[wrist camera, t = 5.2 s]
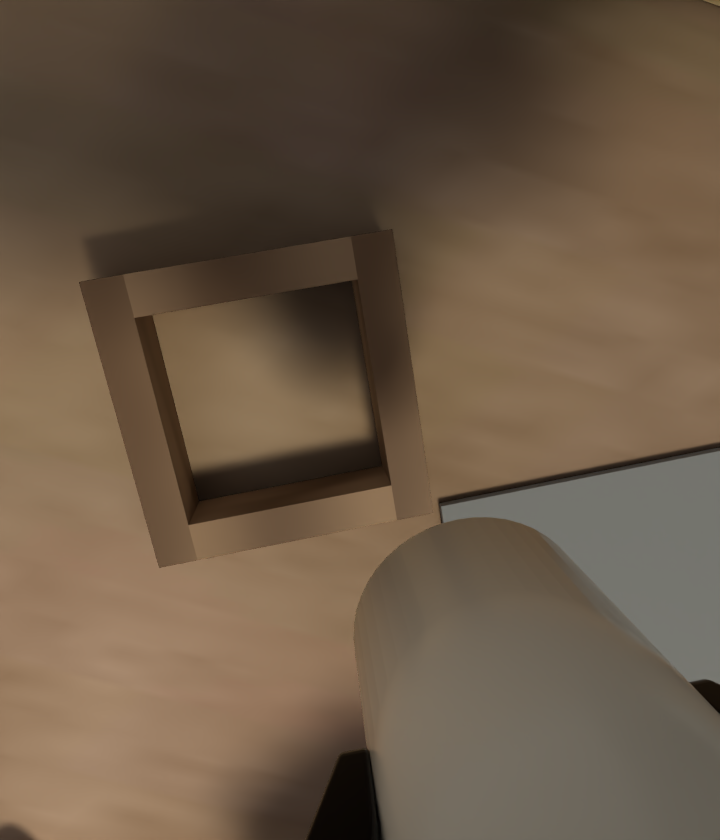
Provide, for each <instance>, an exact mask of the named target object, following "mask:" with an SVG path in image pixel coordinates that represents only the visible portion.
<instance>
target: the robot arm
mask: <svg viewBox="0 0 720 840" xmlns="http://www.w3.org/2000/svg"><path fill="white" fill-rule="evenodd" d="M689 683H690V684H691V685H692V686H693V687H694V688H695V689H696V690H697V691H698V692H699V693H700V694H701V695H702V696H703V697H704V698H705V699H706V700H707V701H708V702H709V704H710V705H711V706H712V707H713V708H714V709H715V710H716V711H717V712H718V713H719V714H720V684H718V683H716V682H714V681H711V680H708V679H702V680H697V681H692V682H689ZM305 840H380V832H379V824H378V816H377V808H376V800H375V792H374V785H373V777H372V769H371V761H370V754H369V751H368V749H366V748H362V749H357V750H352V751H347V752H343V753H341V754H340V755H339V756H338V758H337V761H336V763H335V766H334V768H333V771H332V773H331V776H330V779H329V781H328V784H327V786H326V789H325V791H324V794H323V796H322V799H321V801H320V804H319V806H318V809H317V811H316V814H315V817H314V819H313V822H312V824H311V827H310V829H309V832H308V834H307V837H306V839H305Z"/></svg>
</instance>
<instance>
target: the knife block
mask: <svg viewBox="0 0 720 840" xmlns="http://www.w3.org/2000/svg"><path fill="white" fill-rule="evenodd" d="M704 1H706V2H709V3H712V4H715V5H717V6H720V0H704Z"/></svg>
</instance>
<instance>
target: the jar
mask: <svg viewBox="0 0 720 840" xmlns="http://www.w3.org/2000/svg"><path fill="white" fill-rule="evenodd" d="M353 638H354V647H355V656H356V664H357V672H358V680H359V688H360V696H361V704H362V712H363V721H364V729H365V737H366V745H367V749H368V751H369V754H370V761H371V769H372V777H373V785H374V792H375V800H376V808H377V816H378V824H379V832H380V840H720V714H719V713H718V712H717V711H716V710H715V709H714V708H713V707H712V706H711V705H710V704H709V702H708V701H707V700H706V699H705V698H704V697H703V696H702V695H701V694H700V693H699V692H698V691H697V690H696V689H695V688H694V687H693V686H692V685H691V684H690V683H689V682H688V681H687V679H686V678H685V677H684V676H683V675H682V674H681V673H680V672H679V671H678V670H677V669H676V668H675V667H674V666H673V665H672V664H671V663H670V662H669V661H668V660H667V659H666V657H665V656H664V655H663V654H662V653H661V652H660V651H659V650H658V649H657V648H656V647H655V646H654V645H653V644H652V643H651V642H650V641H649V640H648V639H647V638H646V637H645V636H644V634H643V633H642V632H641V631H640V630H639V629H638V628H637V627H636V626H635V625H634V624H633V623H632V622H631V621H630V620H629V619H628V618H627V617H626V616H625V615H624V614H623V612H622V611H621V610H620V609H619V608H618V607H617V606H616V605H615V604H614V603H613V602H612V601H611V600H610V599H609V598H608V597H607V596H606V595H605V594H604V593H603V592H602V591H601V589H600V588H599V587H598V586H597V585H596V584H595V583H594V582H593V581H592V580H591V579H590V578H589V577H588V576H587V575H586V574H585V573H584V572H583V571H582V570H581V569H580V567H579V566H578V565H577V564H576V563H575V562H574V561H573V560H572V559H571V558H570V557H569V556H568V555H567V554H566V553H565V552H564V551H563V550H562V549H561V548H560V547H559V546H558V545H557V544H556V543H555V542H554V541H552V540H551V539H550V538H549V537H547V536H546V535H544V534H542V533H541V532H539V531H537V530H535V529H533V528H531V527H529V526H526V525H524V524H521V523H518V522H514V521H510V520H507V519H500V518H492V517H473V518H465V519H457V520H453V521H449V522H445V523H442V524H439V525H436V526H434V527H431V528H429V529H426V530H424V531H423V532H421V533H419V534H417V535H415V536H413V537H411V538H410V539H409V540H407V541H406V542H404V543H403V544H401V545H400V546H399V547H398V548H396V549H395V550H394V551H393V552H392V553H391V554H390V555H389V556H387V557H386V559H385V560H384V561H383V562H382V563H381V564H380V566H379V567H378V568H377V569H376V571H375V572H374V574H373V575H372V577H371V578H370V579H369V581H368V583H367V585H366V587H365V589H364V591H363V593H362V595H361V598H360V601H359V604H358V607H357V610H356V615H355V621H354V637H353Z"/></svg>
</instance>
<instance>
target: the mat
mask: <svg viewBox="0 0 720 840" xmlns="http://www.w3.org/2000/svg"><path fill="white" fill-rule="evenodd" d="M439 505H440V512H441V519H442V523H445V522H449V521H453V520H457V519H465V518H473V517H492V518H500V519H507V520H510V521H514V522H518V523H521V524H524V525H526V526H529V527H531V528H533V529H535V530H537V531H539V532H541V533H542V534H544V535H546V536H547V537H549V538H550V539H551V540H552V541H554V542H555V543H556V544H557V545H558V546H559V547H560V548H561V549H562V550H563V551H564V552H565V553H566V554H567V555H568V556H569V557H570V558H571V559H572V560H573V561H574V562H575V563H576V564H577V565H578V566H579V567H580V569H581V570H582V571H583V572H584V573H585V574H586V575H587V576H588V577H589V578H590V579H591V580H592V581H593V582H594V583H595V584H596V585H597V586H598V587H599V588H600V589H601V591H602V592H603V593H604V594H605V595H606V596H607V597H608V598H609V599H610V600H611V601H612V602H613V603H614V604H615V605H616V606H617V607H618V608H619V609H620V610H621V611H622V612H623V614H624V615H625V616H626V617H627V618H628V619H629V620H630V621H631V622H632V623H633V624H634V625H635V626H636V627H637V628H638V629H639V630H640V631H641V632H642V633H643V634H644V636H645V637H646V638H647V639H648V640H649V641H650V642H651V643H652V644H653V645H654V646H655V647H656V648H657V649H658V650H659V651H660V652H661V653H662V654H663V655H664V656H665V657H666V659H667V660H668V661H669V662H670V663H671V664H672V665H673V666H674V667H675V668H676V669H677V670H678V671H679V672H680V673H681V674H682V675H683V676H684V677H685V678H686V679H687V681H688V682H692V681H697V680H702V679H708V680H711V681H714V682H716V683H718V684H720V447H719V448H714V449H709V450H704V451H699V452H694V453H689V454H684V455H679V456H674V457H669V458H664V459H659V460H654V461H649V462H644V463H639V464H634V465H629V466H624V467H619V468H614V469H609V470H604V471H599V472H594V473H589V474H584V475H579V476H574V477H569V478H564V479H559V480H554V481H549V482H544V483H539V484H534V485H529V486H524V487H519V488H514V489H509V490H504V491H499V492H494V493H489V494H484V495H479V496H474V497H469V498H464V499H459V500H453V501H448V502H443V503H439Z"/></svg>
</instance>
